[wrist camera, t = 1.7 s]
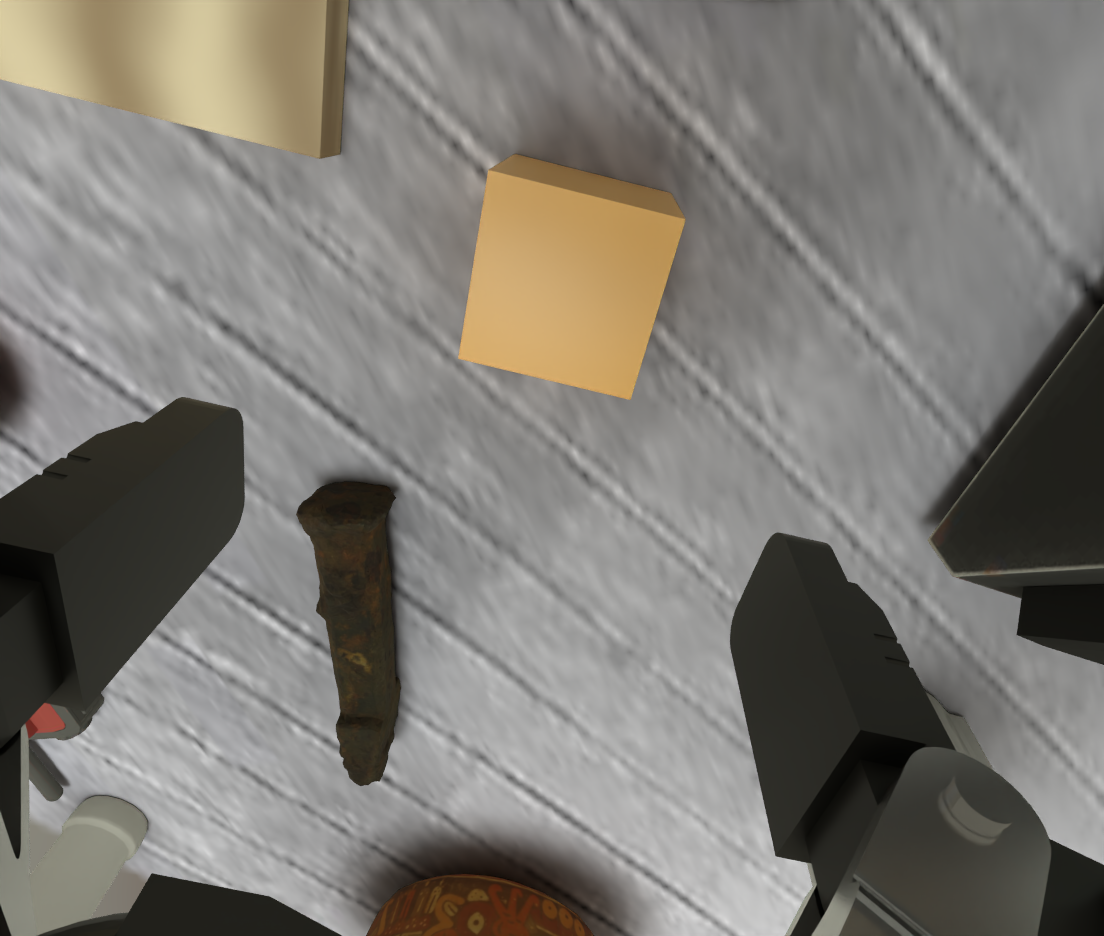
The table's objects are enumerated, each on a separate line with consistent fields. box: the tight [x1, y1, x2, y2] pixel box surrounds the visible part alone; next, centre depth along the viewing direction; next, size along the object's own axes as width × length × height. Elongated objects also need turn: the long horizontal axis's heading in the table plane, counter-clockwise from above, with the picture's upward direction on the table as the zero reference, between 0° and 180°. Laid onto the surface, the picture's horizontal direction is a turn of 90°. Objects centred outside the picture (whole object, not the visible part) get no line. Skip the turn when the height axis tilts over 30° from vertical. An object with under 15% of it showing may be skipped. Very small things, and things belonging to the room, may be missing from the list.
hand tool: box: [296, 482, 401, 786], centre depth 35 cm, size 19×4×5 cm, turn 175°
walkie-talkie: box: [25, 693, 104, 801], centre depth 40 cm, size 9×4×20 cm
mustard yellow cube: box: [458, 154, 686, 400], centre depth 24 cm, size 6×6×6 cm
